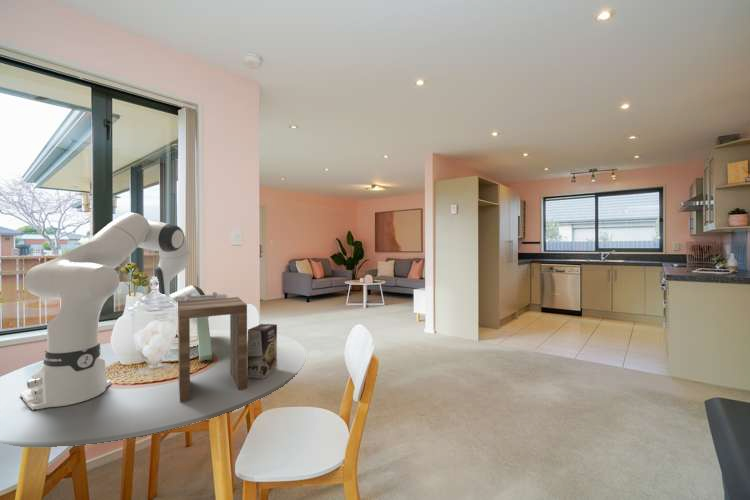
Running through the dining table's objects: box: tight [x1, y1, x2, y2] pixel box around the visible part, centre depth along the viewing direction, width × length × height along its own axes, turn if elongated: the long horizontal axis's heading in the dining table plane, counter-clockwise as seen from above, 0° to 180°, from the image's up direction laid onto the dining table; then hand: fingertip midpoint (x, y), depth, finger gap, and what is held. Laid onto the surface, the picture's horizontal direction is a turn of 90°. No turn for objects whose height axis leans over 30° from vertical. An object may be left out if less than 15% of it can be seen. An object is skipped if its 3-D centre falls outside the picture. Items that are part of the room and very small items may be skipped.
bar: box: [196, 317, 213, 362], centre depth 136 cm, size 26×4×4 cm
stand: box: [177, 296, 248, 403], centre depth 107 cm, size 16×18×26 cm
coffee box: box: [247, 323, 278, 380], centre depth 117 cm, size 9×6×16 cm
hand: (202, 294), depth 138 cm, fingers open, 8 cm apart
